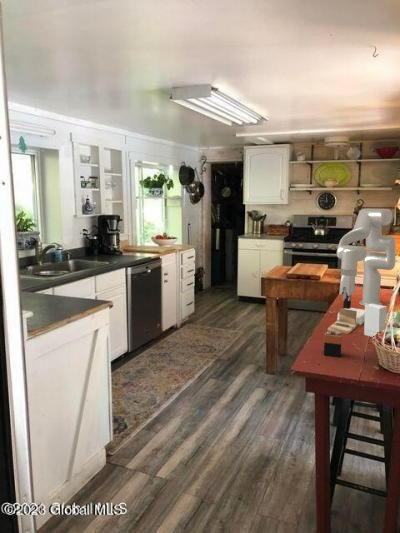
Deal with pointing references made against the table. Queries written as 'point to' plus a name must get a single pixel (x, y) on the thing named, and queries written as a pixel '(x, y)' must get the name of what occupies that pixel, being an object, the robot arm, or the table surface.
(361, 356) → the table surface
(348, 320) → the lid
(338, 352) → the battery
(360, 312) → the box
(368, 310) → the skincare box
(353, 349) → the table surface
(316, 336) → the table surface
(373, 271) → the robot arm
